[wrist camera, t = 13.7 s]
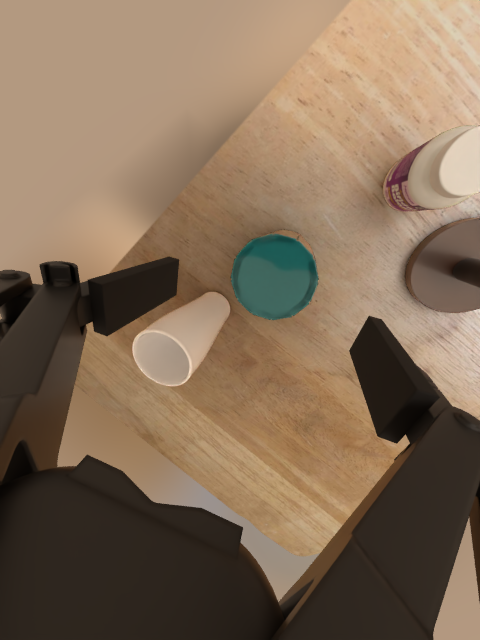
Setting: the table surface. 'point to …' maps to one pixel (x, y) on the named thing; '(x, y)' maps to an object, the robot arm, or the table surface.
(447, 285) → the towel holder
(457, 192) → the pill bottle
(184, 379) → the drinking glass
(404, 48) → the table surface
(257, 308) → the teal fluted cylinder
